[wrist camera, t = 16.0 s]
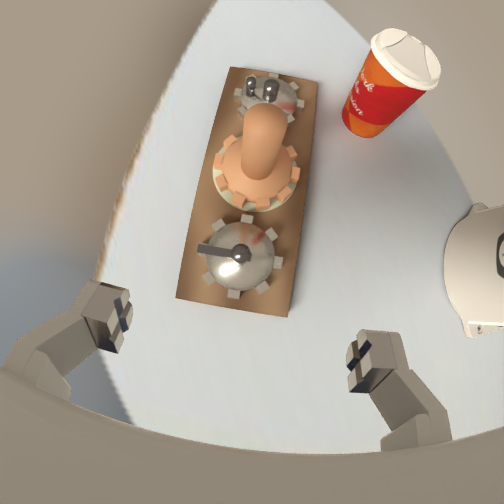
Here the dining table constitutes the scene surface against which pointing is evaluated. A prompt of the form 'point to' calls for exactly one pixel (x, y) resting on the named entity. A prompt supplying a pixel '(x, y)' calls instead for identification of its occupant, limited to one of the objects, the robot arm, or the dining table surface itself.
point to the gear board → (249, 206)
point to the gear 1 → (269, 95)
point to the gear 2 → (240, 256)
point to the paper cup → (389, 82)
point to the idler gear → (258, 159)
